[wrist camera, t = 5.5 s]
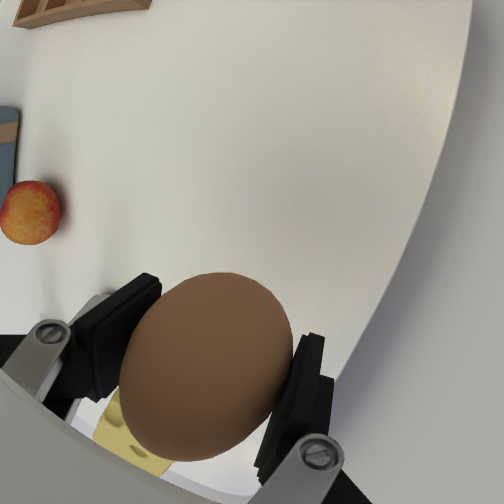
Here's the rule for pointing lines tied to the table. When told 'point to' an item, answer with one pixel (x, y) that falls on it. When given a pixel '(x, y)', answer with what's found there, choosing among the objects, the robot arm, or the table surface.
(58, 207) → the fruit
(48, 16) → the compartment tray
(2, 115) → the blue toy backpack
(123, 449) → the cheese
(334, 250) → the table surface
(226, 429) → the egg
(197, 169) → the table surface
